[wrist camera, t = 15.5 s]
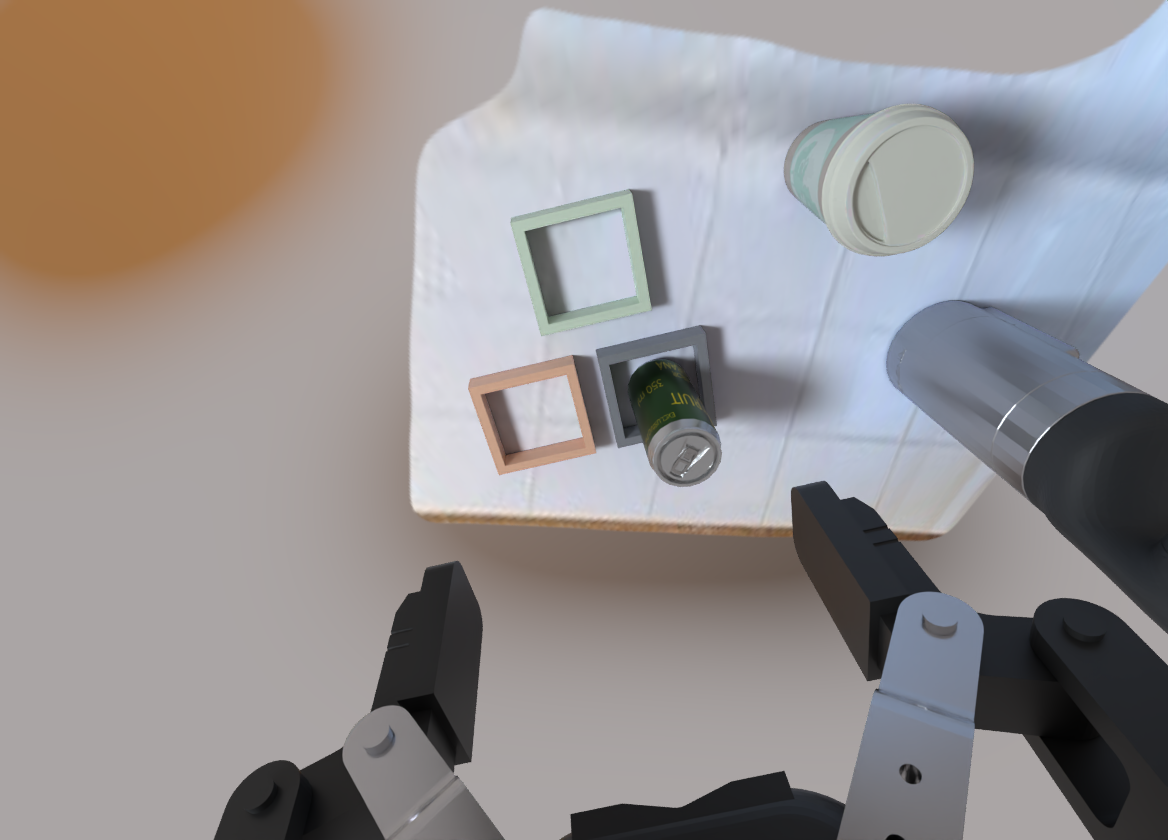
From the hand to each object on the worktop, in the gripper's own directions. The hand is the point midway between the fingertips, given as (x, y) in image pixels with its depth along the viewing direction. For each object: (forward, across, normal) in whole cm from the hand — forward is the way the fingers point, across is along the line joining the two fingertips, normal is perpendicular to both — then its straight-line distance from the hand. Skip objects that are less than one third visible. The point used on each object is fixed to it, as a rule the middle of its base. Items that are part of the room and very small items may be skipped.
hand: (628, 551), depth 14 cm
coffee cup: (+36, -20, 0) cm, 41 cm away
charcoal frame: (+36, -5, +15) cm, 39 cm away
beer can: (+36, -5, +15) cm, 40 cm away
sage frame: (+36, -1, +3) cm, 36 cm away
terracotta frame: (+36, +6, +15) cm, 40 cm away
